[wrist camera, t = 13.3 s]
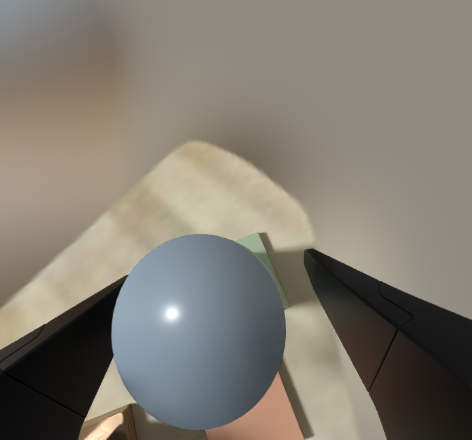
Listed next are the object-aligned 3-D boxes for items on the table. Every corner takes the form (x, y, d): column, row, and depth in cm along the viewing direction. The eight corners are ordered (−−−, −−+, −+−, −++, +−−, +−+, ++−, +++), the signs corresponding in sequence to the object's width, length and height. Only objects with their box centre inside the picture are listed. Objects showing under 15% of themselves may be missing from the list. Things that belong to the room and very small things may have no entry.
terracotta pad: (303, 436, 15) (305, 443, 14) (220, 469, 15) (218, 478, 15) (266, 341, 17) (267, 343, 16) (192, 371, 17) (189, 375, 16)
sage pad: (288, 305, 17) (290, 306, 17) (216, 334, 17) (214, 336, 17) (257, 232, 19) (257, 231, 18) (191, 260, 19) (189, 259, 19)
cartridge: (268, 313, 17) (301, 438, 5) (209, 314, 17) (98, 432, 5) (263, 252, 18) (279, 225, 6) (208, 255, 18) (116, 236, 6)
